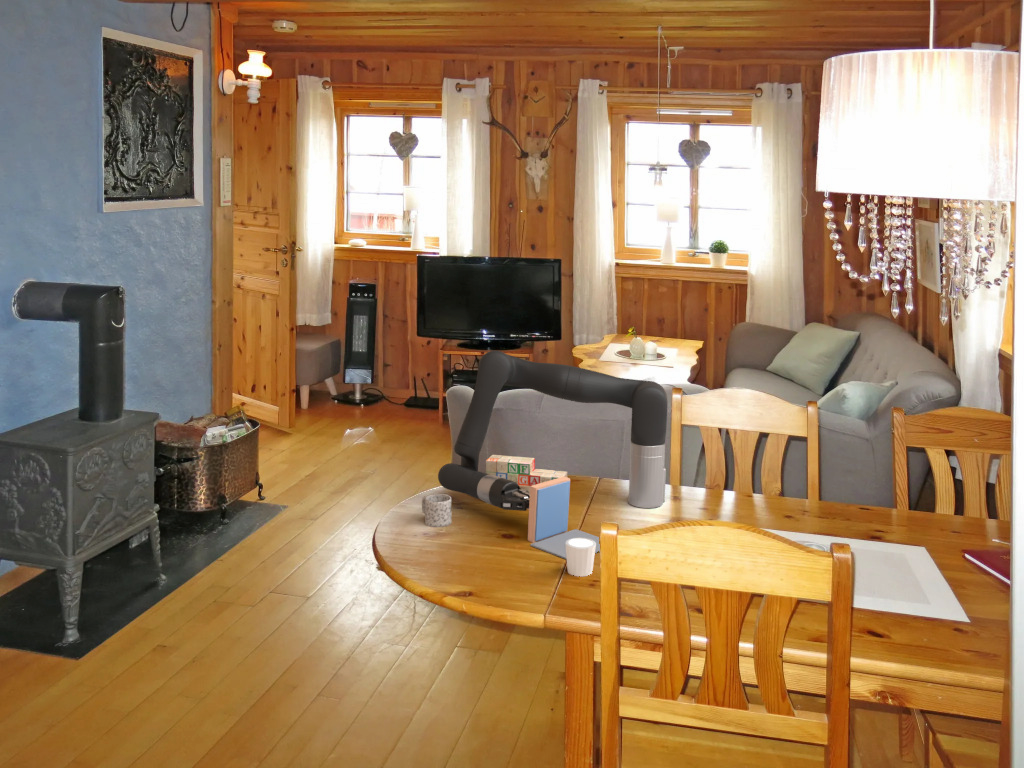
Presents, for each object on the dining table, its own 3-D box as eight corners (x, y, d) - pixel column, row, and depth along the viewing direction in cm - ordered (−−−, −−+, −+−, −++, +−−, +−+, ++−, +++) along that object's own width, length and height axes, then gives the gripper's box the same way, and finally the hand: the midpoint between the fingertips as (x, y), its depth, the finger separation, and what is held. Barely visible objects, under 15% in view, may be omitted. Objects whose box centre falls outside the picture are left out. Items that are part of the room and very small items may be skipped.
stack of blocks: (567, 504, 280) (568, 460, 277) (561, 511, 274) (562, 467, 272) (491, 496, 286) (492, 453, 283) (484, 503, 280) (485, 459, 277)
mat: (575, 530, 260) (575, 528, 260) (618, 545, 250) (618, 543, 250) (530, 545, 249) (530, 544, 249) (572, 562, 239) (572, 560, 239)
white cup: (593, 566, 237) (594, 537, 235) (596, 577, 230) (597, 548, 229) (563, 566, 237) (564, 537, 235) (566, 577, 230) (566, 548, 228)
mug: (456, 523, 264) (456, 498, 262) (435, 529, 259) (435, 504, 258) (433, 513, 271) (433, 489, 270) (412, 518, 267) (412, 494, 265)
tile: (561, 529, 260) (564, 476, 257) (568, 531, 259) (571, 478, 255) (527, 540, 252) (530, 486, 249) (534, 543, 251) (537, 488, 247)
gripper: (479, 482, 262) (527, 499, 249) (517, 472, 271) (565, 488, 258) (479, 511, 263) (526, 528, 251) (516, 500, 272) (564, 516, 260)
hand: (546, 508), depth 255 cm, fingers closed
